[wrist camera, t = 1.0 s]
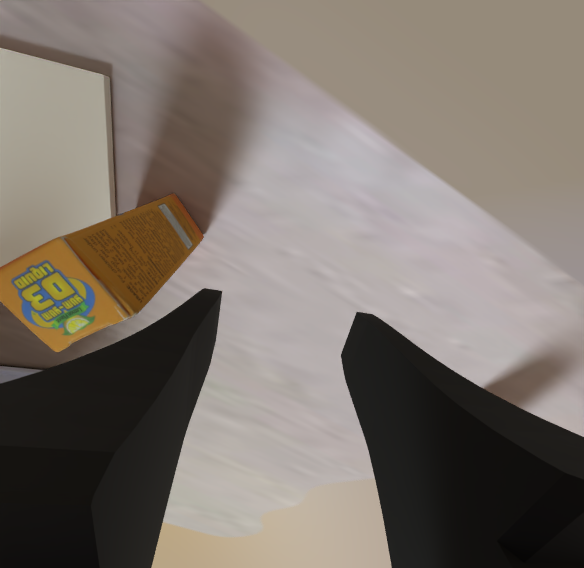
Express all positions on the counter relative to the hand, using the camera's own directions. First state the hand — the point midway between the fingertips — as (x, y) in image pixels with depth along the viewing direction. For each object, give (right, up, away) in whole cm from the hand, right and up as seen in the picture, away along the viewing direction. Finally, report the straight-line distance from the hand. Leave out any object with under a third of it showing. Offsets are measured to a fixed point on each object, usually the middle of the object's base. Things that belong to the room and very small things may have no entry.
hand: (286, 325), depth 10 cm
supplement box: (-8, +5, +7) cm, 12 cm away
